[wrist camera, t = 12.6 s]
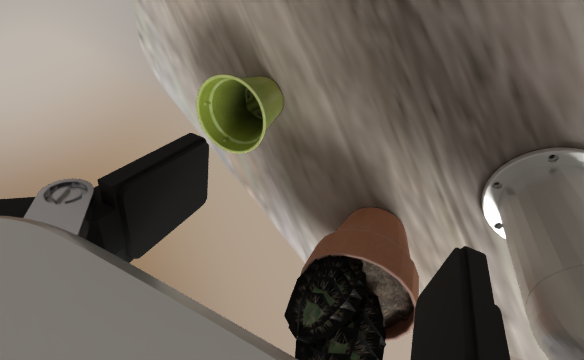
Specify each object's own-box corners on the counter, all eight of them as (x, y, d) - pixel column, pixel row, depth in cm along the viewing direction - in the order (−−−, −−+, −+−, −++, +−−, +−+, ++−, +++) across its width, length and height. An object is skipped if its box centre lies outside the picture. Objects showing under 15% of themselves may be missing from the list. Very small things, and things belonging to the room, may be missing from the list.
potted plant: (445, 223, 39) (448, 444, 20) (393, 280, 47) (359, 477, 28) (352, 175, 42) (271, 329, 22) (318, 237, 50) (236, 391, 30)
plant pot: (237, 54, 40) (195, 64, 33) (301, 73, 38) (269, 88, 31) (233, 119, 45) (196, 139, 38) (289, 138, 43) (260, 164, 36)
